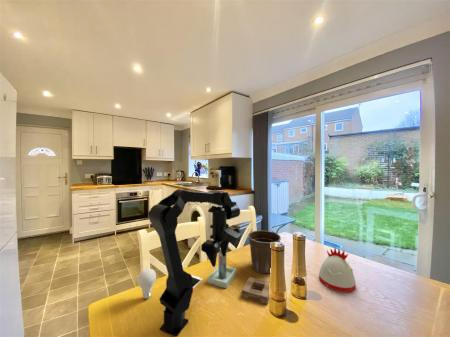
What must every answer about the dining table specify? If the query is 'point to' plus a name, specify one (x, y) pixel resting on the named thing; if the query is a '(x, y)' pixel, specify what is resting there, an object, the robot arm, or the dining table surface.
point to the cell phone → (196, 280)
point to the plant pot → (262, 249)
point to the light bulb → (146, 281)
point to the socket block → (256, 294)
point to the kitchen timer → (337, 272)
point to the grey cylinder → (222, 265)
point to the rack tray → (223, 283)
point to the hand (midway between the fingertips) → (219, 261)
